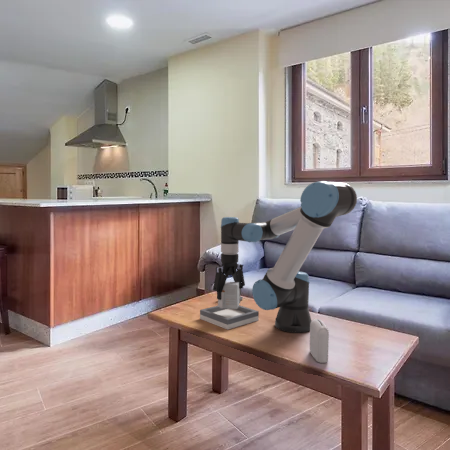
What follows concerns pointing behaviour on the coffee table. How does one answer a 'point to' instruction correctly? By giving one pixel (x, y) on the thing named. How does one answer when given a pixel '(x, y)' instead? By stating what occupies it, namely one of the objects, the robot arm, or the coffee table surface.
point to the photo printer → (319, 340)
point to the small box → (231, 295)
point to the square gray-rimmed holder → (229, 316)
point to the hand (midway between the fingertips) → (229, 304)
